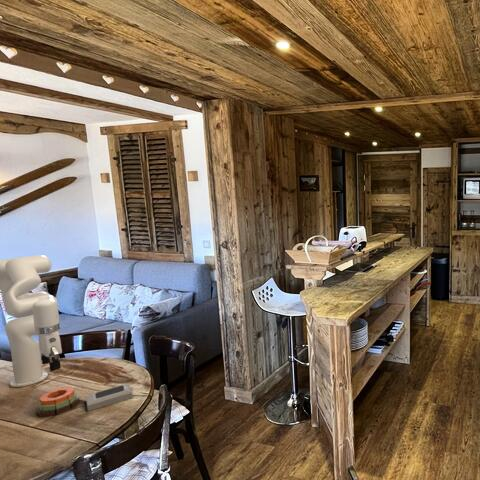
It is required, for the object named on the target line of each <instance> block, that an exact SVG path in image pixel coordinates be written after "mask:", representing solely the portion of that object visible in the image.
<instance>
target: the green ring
mask: <svg viewBox="0 0 480 480" xmlns="http://www.w3.org/2000/svg"><path fill="white" fill-rule="evenodd" d="M62 395H64V394H62ZM58 396H61V395H57V396H54V397H51V398H56V397H58ZM77 397H78V395H77V393H76V392H75V395H74V396H72V397H71V398H70V399H67V400H66V401H64V402H61V403H58V404H54V405H46V406H44V405H42V404H41V403H40V401H38V403H37V407H38V408H39V409H40V410H41V411H42V410H43V411H48V410H55V409H59V408H61V407H64V406H67V405H69V404H71V403H72V402H73V401H74V400H75V399H77Z"/></svg>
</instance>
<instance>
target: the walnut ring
mask: <svg viewBox="0 0 480 480" xmlns="http://www.w3.org/2000/svg"><path fill="white" fill-rule="evenodd" d="M79 403H80V398H79V396H77V399H75V400H74V401H73V402H72V403H71V404H69V405H67V406H64V407H61V408H59V409H55V410H48V411H43V410H42V411H41V410H40V409H39V408H38V406H37V407H36V413H37V415H39V417H43V418H44V417H52V416H58V415H60V414H62V413H66V412H69V411H71V410H72V409H73V408H75V407H76V406H77V405H78V404H79Z"/></svg>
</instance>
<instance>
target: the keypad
mask: <svg viewBox="0 0 480 480" xmlns="http://www.w3.org/2000/svg"><path fill="white" fill-rule="evenodd" d="M132 398H133V393H132V390H131V387H130V385H129V384H128V383H123V384H120V385H116V386H113V387H109V388H106V389H102V390H99V391H95V392H92V393H89V394H87V395H86V396H85V400H86V409H87V412H91V411H94V410H97V409H100V408H103V407H106V406H110V405H114V404H117V403H120V402H123V401H127V400H129V399H132Z"/></svg>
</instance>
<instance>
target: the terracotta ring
mask: <svg viewBox="0 0 480 480" xmlns="http://www.w3.org/2000/svg"><path fill="white" fill-rule="evenodd" d="M75 393H76V391H75V389H74V388H73V387H71V386H67V387H60V388H55V389H53V390H50V391H47V392H46V393H44V394H42V395H41V396H40V397H39V399H38V400H39V401H38V402H40V403H41V404H42V405H44V406H46V405H54V404H58V403H61V402H64V401H66V400H67V399H70V398H71V397H72V396H74V395H75ZM62 394H64V395H62ZM57 395H61V396H58V397H56V398H51V397H54V396H57Z"/></svg>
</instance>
